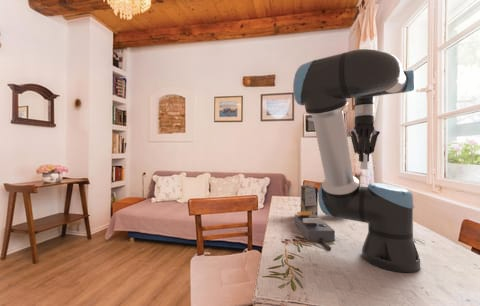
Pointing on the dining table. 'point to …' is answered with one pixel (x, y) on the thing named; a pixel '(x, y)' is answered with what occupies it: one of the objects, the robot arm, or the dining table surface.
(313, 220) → the grey rocker
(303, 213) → the amber rocker
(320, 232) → the power strip
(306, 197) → the coffee box
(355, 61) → the robot arm
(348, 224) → the dining table surface
